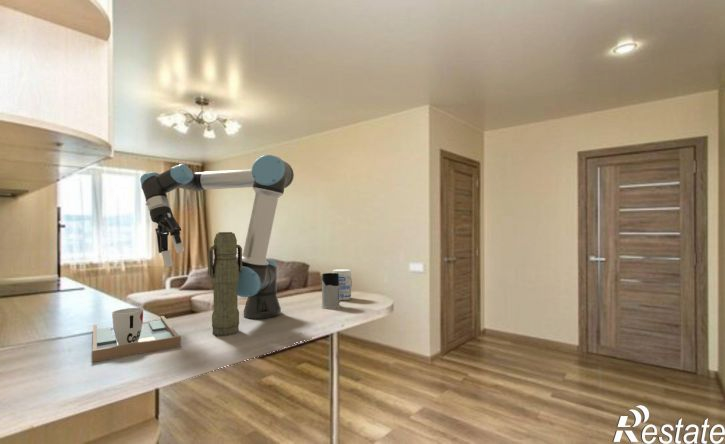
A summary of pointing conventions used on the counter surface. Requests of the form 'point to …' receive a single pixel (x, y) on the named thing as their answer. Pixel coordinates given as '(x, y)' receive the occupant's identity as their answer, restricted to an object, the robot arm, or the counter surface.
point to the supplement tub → (344, 283)
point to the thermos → (225, 283)
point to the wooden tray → (148, 341)
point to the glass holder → (331, 290)
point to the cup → (127, 325)
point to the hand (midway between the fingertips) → (175, 259)
